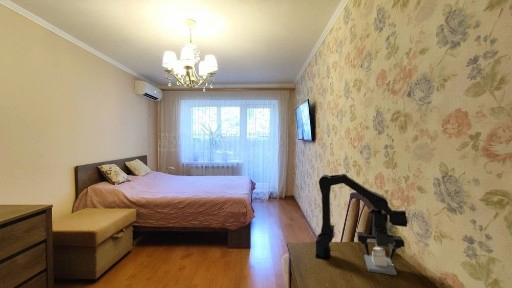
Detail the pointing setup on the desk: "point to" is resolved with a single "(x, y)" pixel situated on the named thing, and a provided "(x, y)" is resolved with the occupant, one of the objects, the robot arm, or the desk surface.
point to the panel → (380, 269)
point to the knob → (379, 256)
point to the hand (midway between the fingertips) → (379, 257)
